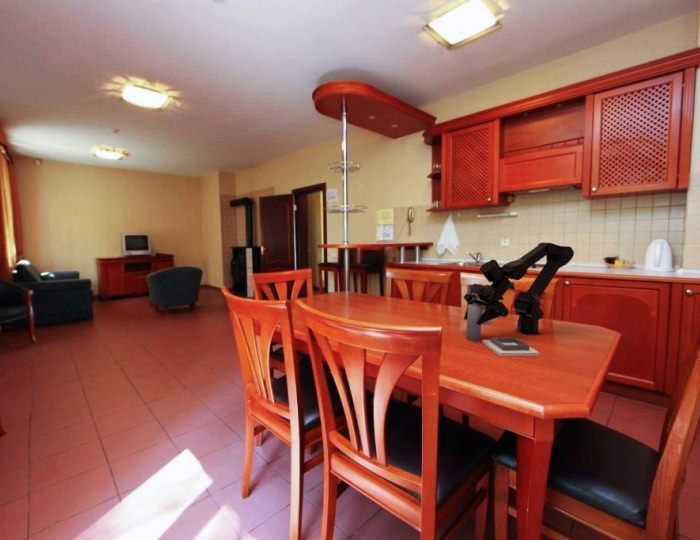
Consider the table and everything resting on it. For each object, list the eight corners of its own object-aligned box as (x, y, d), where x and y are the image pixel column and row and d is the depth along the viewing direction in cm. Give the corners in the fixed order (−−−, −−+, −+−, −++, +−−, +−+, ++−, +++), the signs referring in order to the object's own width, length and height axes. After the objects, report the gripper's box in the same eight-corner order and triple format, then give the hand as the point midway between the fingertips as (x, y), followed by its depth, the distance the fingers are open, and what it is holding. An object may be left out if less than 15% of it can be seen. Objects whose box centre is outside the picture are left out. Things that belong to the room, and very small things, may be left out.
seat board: (518, 342, 119) (518, 335, 119) (539, 355, 106) (539, 348, 106) (482, 342, 119) (482, 335, 118) (499, 355, 106) (499, 348, 106)
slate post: (477, 336, 126) (478, 304, 124) (482, 340, 121) (484, 307, 119) (464, 336, 125) (466, 304, 124) (469, 340, 121) (470, 307, 119)
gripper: (468, 273, 131) (443, 302, 128) (504, 279, 113) (475, 313, 111) (483, 291, 134) (459, 320, 132) (520, 300, 116) (493, 334, 114)
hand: (470, 321), depth 122 cm, fingers open, 7 cm apart
